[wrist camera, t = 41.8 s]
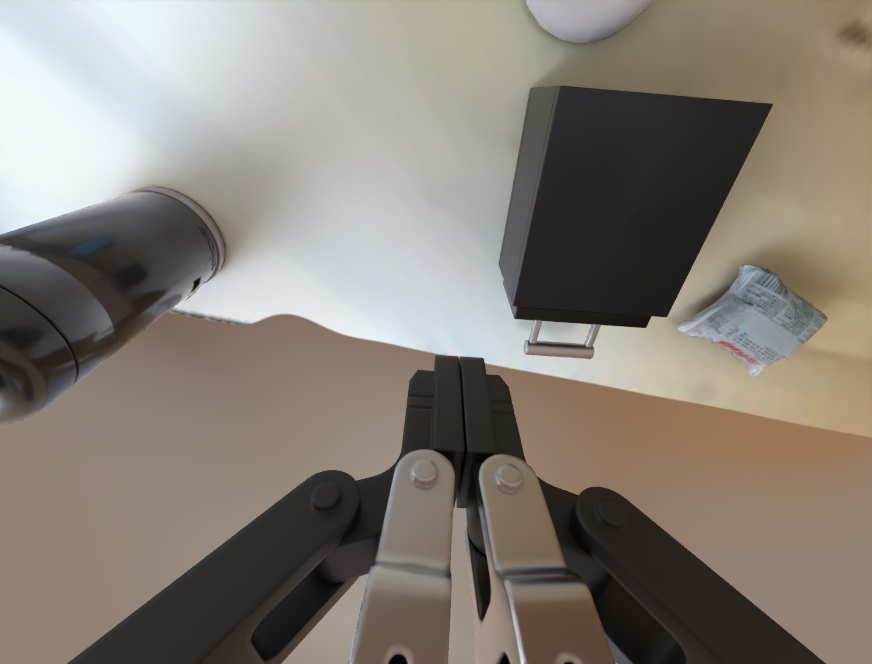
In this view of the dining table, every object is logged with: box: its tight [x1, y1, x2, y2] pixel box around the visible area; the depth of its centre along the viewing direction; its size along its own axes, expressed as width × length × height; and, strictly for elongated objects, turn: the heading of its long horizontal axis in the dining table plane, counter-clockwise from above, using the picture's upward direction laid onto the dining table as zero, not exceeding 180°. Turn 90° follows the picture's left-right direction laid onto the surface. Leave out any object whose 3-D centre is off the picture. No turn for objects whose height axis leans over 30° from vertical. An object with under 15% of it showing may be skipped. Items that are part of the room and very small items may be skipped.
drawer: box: [503, 281, 651, 359], centre depth 31 cm, size 19×11×7 cm, turn 176°
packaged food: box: [676, 264, 827, 377], centre depth 36 cm, size 9×12×5 cm
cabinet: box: [499, 86, 773, 317], centre depth 28 cm, size 15×13×9 cm
